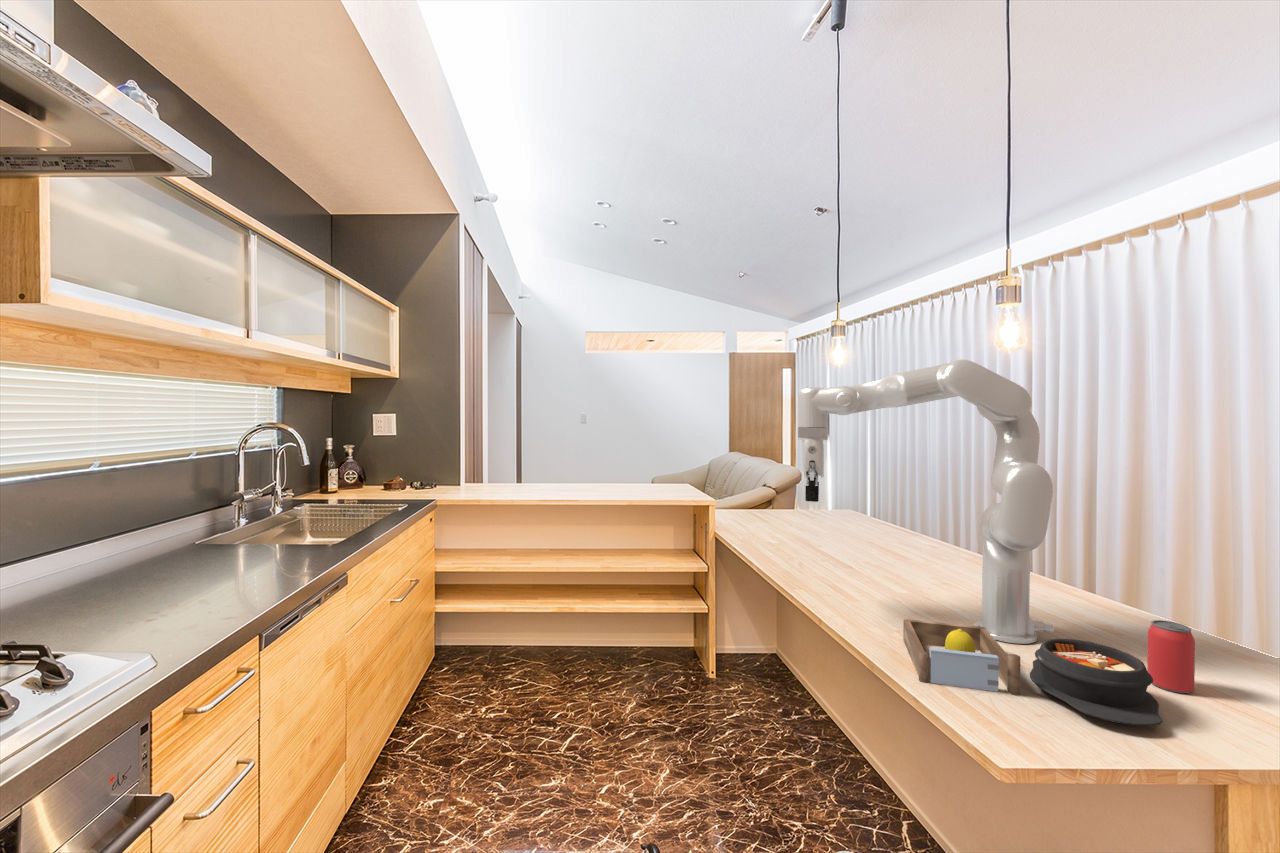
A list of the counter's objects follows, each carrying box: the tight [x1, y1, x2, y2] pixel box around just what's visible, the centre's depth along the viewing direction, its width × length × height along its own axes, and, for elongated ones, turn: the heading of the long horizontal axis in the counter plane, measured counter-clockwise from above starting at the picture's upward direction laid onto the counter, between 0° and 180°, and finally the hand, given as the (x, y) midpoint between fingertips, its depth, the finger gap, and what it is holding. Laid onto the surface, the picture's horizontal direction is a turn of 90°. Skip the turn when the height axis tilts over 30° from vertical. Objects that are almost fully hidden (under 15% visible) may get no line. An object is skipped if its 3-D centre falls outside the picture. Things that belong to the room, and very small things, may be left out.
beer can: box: [1146, 619, 1196, 694], centre depth 106 cm, size 7×7×12 cm
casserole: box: [1029, 638, 1163, 727], centre depth 102 cm, size 25×19×8 cm
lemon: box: [944, 629, 976, 653], centre depth 114 cm, size 6×6×8 cm
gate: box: [928, 647, 1000, 693], centre depth 106 cm, size 12×1×6 cm, turn 72°
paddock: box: [902, 618, 1021, 696], centre depth 115 cm, size 17×22×7 cm
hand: (812, 498), depth 144 cm, fingers open, 9 cm apart
